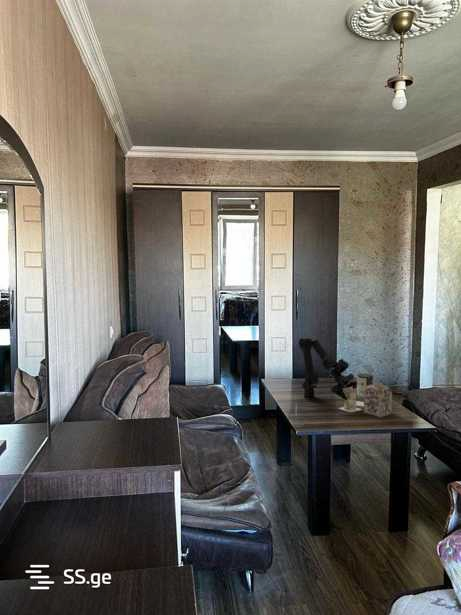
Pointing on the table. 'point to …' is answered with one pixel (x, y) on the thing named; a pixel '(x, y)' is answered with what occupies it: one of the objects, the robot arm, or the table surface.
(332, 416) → the table surface
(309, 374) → the robot arm
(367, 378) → the coffee can
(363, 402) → the coaster
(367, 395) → the decorative jar
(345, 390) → the birch block
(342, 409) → the white tile
